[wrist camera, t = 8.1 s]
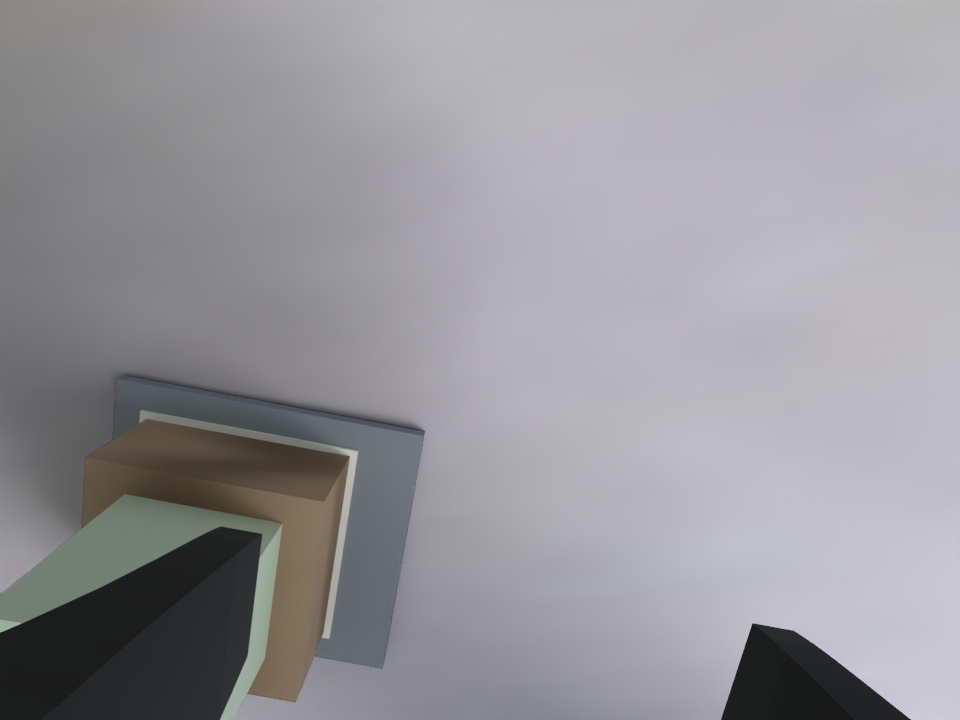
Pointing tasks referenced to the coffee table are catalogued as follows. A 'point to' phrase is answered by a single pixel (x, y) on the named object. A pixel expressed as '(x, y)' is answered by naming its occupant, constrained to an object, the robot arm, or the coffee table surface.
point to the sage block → (131, 544)
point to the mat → (366, 506)
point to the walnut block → (246, 492)
